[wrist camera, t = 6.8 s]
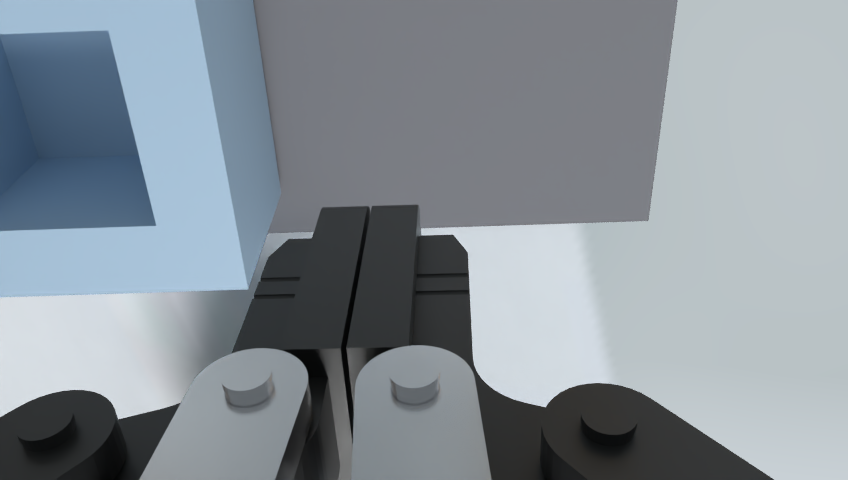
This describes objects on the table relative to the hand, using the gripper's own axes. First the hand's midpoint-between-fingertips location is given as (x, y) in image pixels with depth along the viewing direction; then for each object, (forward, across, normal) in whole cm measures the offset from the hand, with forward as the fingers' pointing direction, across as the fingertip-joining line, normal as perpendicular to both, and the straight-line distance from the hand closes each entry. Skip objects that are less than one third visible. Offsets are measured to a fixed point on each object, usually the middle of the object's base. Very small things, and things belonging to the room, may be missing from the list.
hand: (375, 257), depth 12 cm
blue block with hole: (+10, +8, 0) cm, 12 cm away
